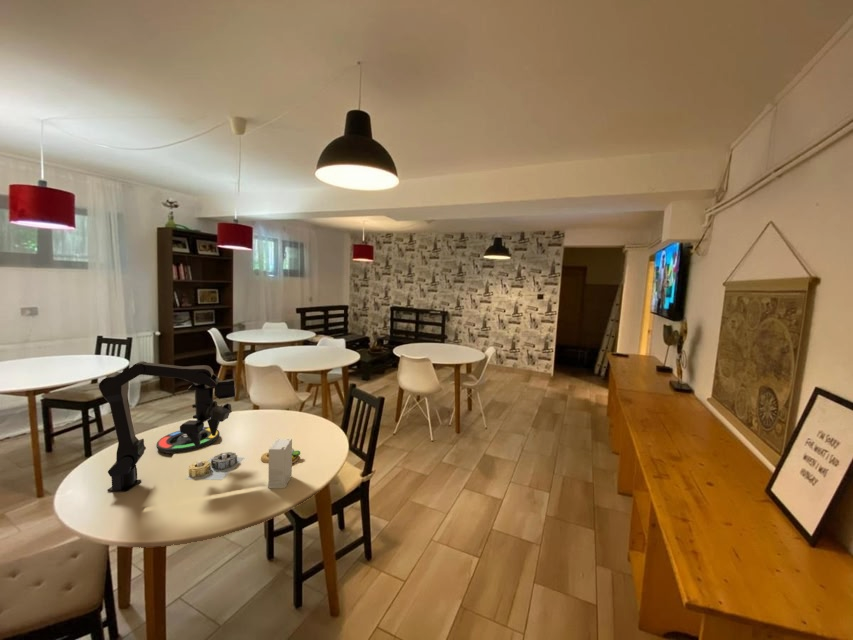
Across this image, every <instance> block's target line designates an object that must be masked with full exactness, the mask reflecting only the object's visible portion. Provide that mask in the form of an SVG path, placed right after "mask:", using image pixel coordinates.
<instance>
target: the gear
mask: <svg viewBox="0 0 853 640" xmlns="http://www.w3.org/2000/svg"><path fill="white" fill-rule="evenodd" d="M222 454H227V459H224V460H222ZM213 457H214V458H213V459H211V458H210V459H211V467H212V466H213V469H217V470H221V469H227V468H230V467H232V466H234V465H235V463H237V458H238V454H236V452H232V451H229V452H221V453H220V454H217V455H214V456H213Z"/></svg>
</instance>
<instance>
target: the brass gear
mask: <svg viewBox="0 0 853 640" xmlns="http://www.w3.org/2000/svg"><path fill="white" fill-rule="evenodd" d="M201 461H202V463H203V466H201V467H197V462H198V461H196V462H194V463H192V464H190V465H189V467H188V468H187V469H188V471H187V472H188V476H192V477H199V476H202V475H206V474H207V473H209V472H210V469H211V462H208V460H201Z"/></svg>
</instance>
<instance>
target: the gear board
mask: <svg viewBox="0 0 853 640" xmlns="http://www.w3.org/2000/svg"><path fill="white" fill-rule="evenodd" d="M214 457H215V456H212V457H211V458H209V459H208V460H207V461H208V462H211V459H213V458H214ZM224 459H227V454H222V460H224ZM244 459H245V457H237V463H235V465H234V466H232V467H230V468H227V469H221V470H217V469H213V466H212V467H211V469H210V472H209V473H207V474H206V475H202V476H199V477H192V476H189V475H188V476H187V477H186V478H185V480H194V481H197V480H198V481H200V480H201V481H209V480H210V481H222V480H223V479H225V478H226V477H227V476H228V474H230V473H231V471H233V470H234V469H235V468H236V467H237V466H238V465H239V464H240V463H242V461H244ZM202 461H203V460H199V461H196V462H197V467H201V466H203V463H202Z"/></svg>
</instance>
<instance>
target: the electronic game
mask: <svg viewBox="0 0 853 640" xmlns="http://www.w3.org/2000/svg"><path fill="white" fill-rule="evenodd" d="M203 429H204V430H203V431H202V432H201V438H200V446H199V447H196V446H195V444H194V443H193V442H192V440H191V439H190V438H189V437H188V436H187V434H186V433H183V432H180V430H177V431H173V432H171V433H168V434H166V435H165V436H163V437H161V438H160V439H159V440H158V441H157V443H156V444H155V445H156V449H157V451H160V452H163V453H167V454H173V455H174V454H175V453H185V452H189V451H194V450H197V449H202V448H203V447H208V446H209V445H211V444H213V443H214V442H216V441H217V440H218V438H220V435H221V434H220V430H219V429H217V432H216V435H215V436H212V434H211V431H210V428H209V426H204V427H203ZM204 435H206V436H205V438H203V437H204ZM173 442H174V443H173Z"/></svg>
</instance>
